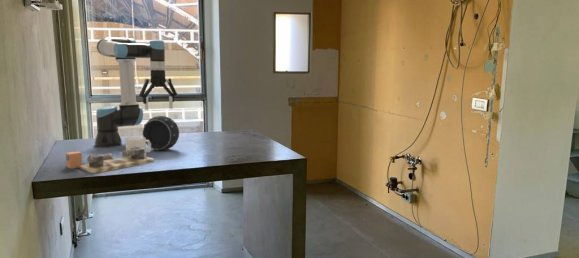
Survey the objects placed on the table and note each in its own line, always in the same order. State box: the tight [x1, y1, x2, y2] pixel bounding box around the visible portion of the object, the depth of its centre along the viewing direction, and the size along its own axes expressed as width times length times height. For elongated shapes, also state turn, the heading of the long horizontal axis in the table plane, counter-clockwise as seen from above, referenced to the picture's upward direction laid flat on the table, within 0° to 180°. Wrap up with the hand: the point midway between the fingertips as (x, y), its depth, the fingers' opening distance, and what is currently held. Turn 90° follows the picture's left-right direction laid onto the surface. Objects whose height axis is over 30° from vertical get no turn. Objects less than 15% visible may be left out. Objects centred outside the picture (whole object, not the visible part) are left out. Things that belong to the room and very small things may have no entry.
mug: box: [125, 136, 152, 157], centre depth 236 cm, size 14×10×11 cm
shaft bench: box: [78, 148, 155, 174], centre depth 217 cm, size 32×14×6 cm, turn 141°
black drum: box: [142, 115, 180, 152], centre depth 251 cm, size 11×20×20 cm, turn 78°
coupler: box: [65, 151, 83, 169], centre depth 212 cm, size 4×6×7 cm
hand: (159, 109), depth 235 cm, fingers open, 13 cm apart
